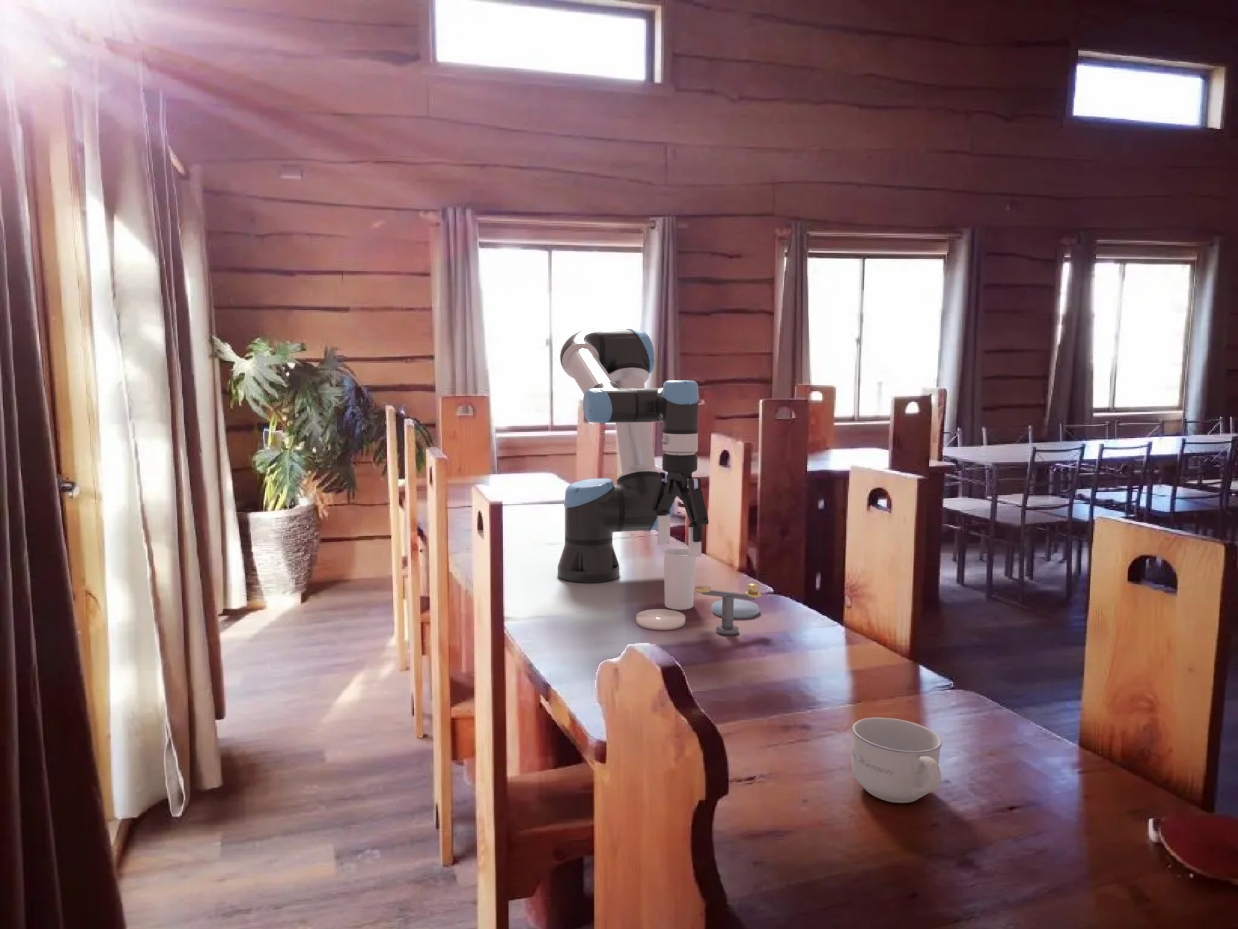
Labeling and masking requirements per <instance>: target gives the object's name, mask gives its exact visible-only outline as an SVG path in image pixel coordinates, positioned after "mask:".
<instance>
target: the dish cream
mask: <svg viewBox="0 0 1238 929" xmlns="http://www.w3.org/2000/svg"><path fill="white" fill-rule="evenodd" d="M635 623H636V624H637V625H638V626H640V627H642V628H645V629H649V630H655V631H656V630H657V631H658V630H659V631H662V630H663V631H665V630H674V629H676V630H677V629H680V628H682V627H683V626H685V625H686V615H685V614H684V613H682V612H680V611H678V610H675V609H668V608H667V609H665V608H655V609H654V608H653V609H652V608H651V609H646V610H641V611H639V612H638V613H637V614H636V616H635Z"/></svg>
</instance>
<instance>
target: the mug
mask: <svg viewBox="0 0 1238 929" xmlns="http://www.w3.org/2000/svg"><path fill="white" fill-rule="evenodd" d="M663 552H664V558H663V559H664V560H663V561H664V562H663V563H664V564H663V566H664V568H663V569H664V572H663V574H664V576H663V577H664V578H663V579H664V581H663V582H664V588H663V589H664V591H663V593H664V606H665V607H666V608H667V609H669V610H674V611H678V610H679V611H682V610H683V611H685V610H690V609H692V608H694V602H695V601H694V600H695V580H696V579H695V578H696V558H697V557H691V558H690V557H688V548H681V547H680V548H679V547H678V548H677V547H674V548H667V549H665V550H664V551H663Z"/></svg>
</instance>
